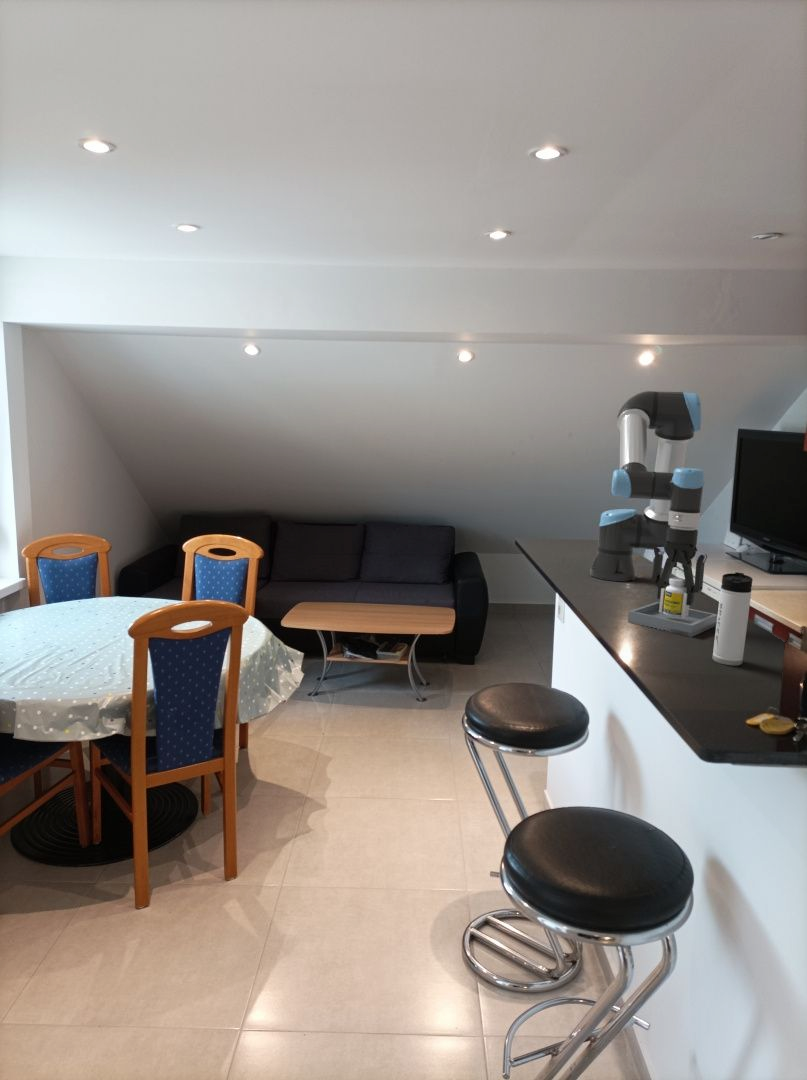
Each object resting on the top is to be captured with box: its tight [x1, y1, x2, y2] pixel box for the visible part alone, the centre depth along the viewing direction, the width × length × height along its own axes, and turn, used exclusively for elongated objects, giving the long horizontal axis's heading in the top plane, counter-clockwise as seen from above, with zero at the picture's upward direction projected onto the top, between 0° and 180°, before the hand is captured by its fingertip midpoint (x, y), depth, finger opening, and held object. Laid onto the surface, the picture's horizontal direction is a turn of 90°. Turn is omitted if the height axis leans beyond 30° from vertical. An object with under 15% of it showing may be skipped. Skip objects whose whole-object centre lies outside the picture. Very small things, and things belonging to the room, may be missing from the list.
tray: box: [627, 601, 718, 638], centre depth 199 cm, size 17×17×3 cm
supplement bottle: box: [663, 576, 687, 617], centre depth 198 cm, size 5×5×10 cm
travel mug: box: [712, 571, 753, 667], centre depth 168 cm, size 6×7×20 cm
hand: (673, 613), depth 199 cm, fingers closed on supplement bottle, 5 cm apart
